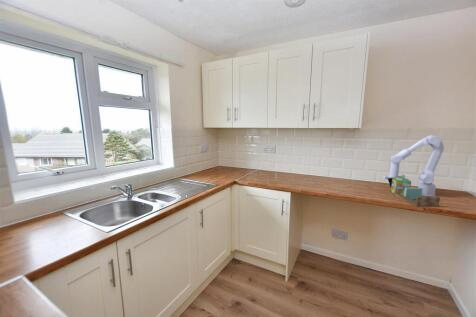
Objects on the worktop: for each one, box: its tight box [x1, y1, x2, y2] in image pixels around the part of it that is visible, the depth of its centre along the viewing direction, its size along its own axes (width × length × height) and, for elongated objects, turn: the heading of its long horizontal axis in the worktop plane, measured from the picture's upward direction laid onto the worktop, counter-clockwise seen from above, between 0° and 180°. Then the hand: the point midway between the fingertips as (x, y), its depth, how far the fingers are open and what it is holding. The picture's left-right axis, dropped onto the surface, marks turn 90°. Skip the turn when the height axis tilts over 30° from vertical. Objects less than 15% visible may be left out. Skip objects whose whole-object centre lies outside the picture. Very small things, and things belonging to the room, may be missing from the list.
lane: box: [394, 193, 441, 207], centre depth 140 cm, size 14×19×6 cm
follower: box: [404, 187, 423, 200], centre depth 142 cm, size 11×2×8 cm, turn 90°
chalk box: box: [390, 174, 412, 196], centre depth 153 cm, size 9×9×15 cm
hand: (391, 187), depth 162 cm, fingers closed
